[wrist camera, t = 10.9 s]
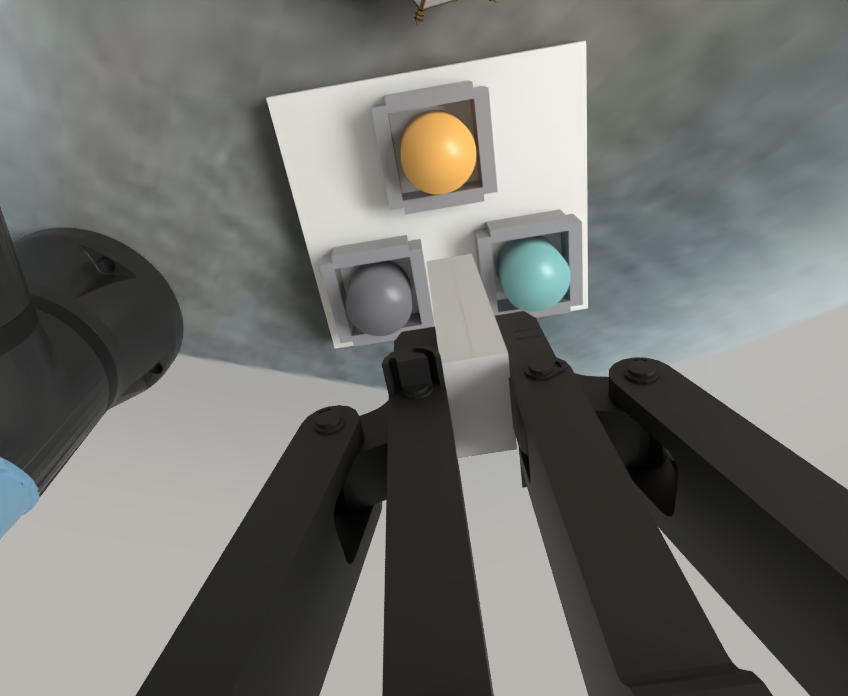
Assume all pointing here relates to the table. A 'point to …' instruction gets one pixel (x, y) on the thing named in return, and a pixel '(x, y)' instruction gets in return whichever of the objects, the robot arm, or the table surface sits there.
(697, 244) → the table surface
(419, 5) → the grey spiky polyhedron
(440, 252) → the panel
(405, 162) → the orange button
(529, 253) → the teal button
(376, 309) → the charcoal button
